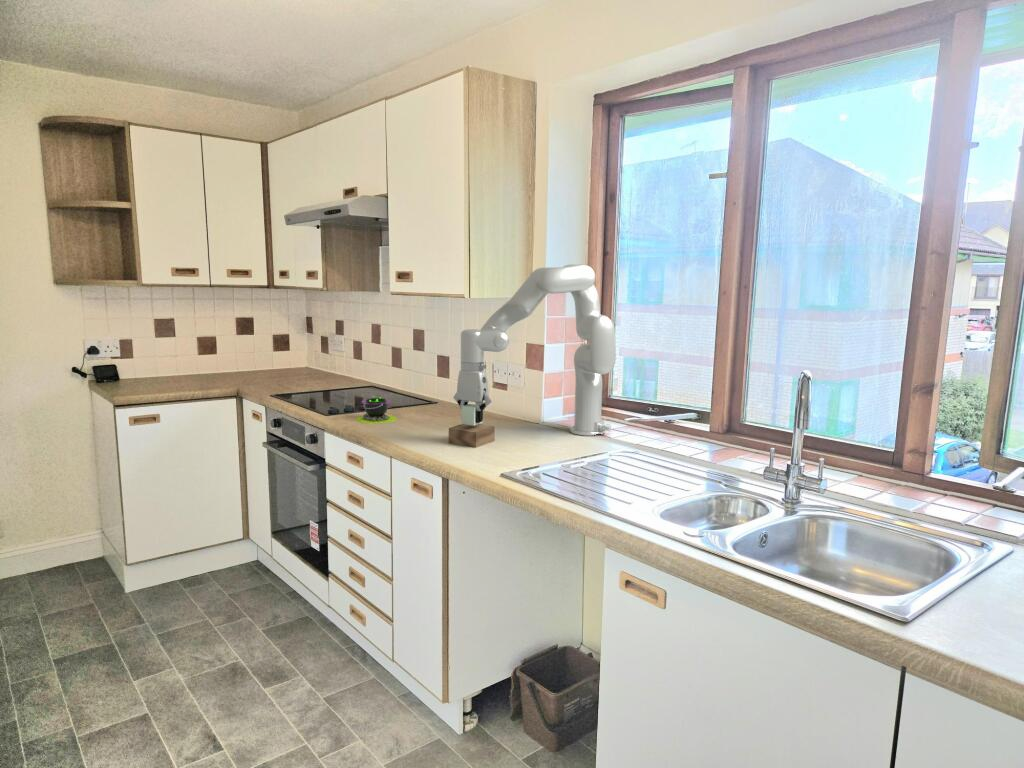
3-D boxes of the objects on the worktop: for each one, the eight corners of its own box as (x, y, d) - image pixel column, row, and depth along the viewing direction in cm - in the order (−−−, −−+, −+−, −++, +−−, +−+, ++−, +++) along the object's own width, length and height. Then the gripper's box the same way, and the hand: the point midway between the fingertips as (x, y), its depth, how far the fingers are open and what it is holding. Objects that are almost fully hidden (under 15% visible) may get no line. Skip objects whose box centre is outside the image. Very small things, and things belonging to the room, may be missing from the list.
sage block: (482, 422, 223) (482, 405, 222) (473, 425, 219) (473, 407, 218) (470, 420, 226) (470, 403, 225) (461, 423, 221) (461, 405, 220)
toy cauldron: (348, 419, 257) (348, 390, 255) (382, 413, 267) (381, 386, 265) (369, 425, 246) (369, 396, 244) (403, 419, 256) (403, 391, 254)
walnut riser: (494, 440, 225) (494, 426, 224) (475, 447, 216) (476, 432, 215) (468, 436, 231) (468, 422, 230) (448, 442, 221) (448, 428, 221)
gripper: (500, 367, 218) (499, 422, 221) (458, 363, 227) (458, 416, 230) (487, 370, 212) (487, 426, 214) (444, 366, 220) (444, 420, 223)
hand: (472, 420), depth 222 cm, fingers closed on sage block, 4 cm apart
